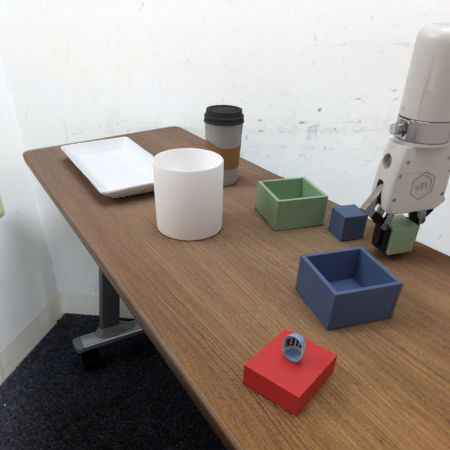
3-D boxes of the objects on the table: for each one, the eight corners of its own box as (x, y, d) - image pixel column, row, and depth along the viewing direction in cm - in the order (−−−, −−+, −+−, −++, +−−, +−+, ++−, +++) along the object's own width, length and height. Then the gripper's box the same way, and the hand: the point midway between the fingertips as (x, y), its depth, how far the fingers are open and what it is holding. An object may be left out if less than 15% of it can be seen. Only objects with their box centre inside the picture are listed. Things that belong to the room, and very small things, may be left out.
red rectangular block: (282, 345, 52) (289, 304, 48) (332, 372, 48) (343, 330, 45) (242, 383, 47) (246, 340, 43) (295, 416, 43) (304, 372, 40)
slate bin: (353, 278, 64) (361, 246, 61) (391, 317, 57) (403, 283, 54) (295, 288, 62) (300, 254, 58) (327, 330, 54) (335, 295, 51)
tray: (102, 208, 81) (100, 191, 79) (61, 159, 103) (58, 144, 101) (182, 192, 89) (181, 176, 86) (128, 149, 110) (126, 135, 108)
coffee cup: (248, 183, 93) (253, 111, 85) (217, 191, 90) (218, 115, 81) (227, 172, 99) (229, 102, 90) (196, 178, 95) (195, 106, 86)
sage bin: (300, 203, 86) (304, 176, 82) (323, 224, 78) (328, 196, 75) (255, 208, 83) (257, 180, 80) (274, 231, 76) (277, 201, 73)
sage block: (395, 238, 72) (401, 213, 69) (411, 251, 69) (419, 225, 66) (372, 242, 71) (377, 217, 68) (387, 255, 68) (394, 229, 65)
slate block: (349, 226, 78) (354, 203, 75) (362, 238, 75) (368, 214, 72) (327, 229, 77) (332, 206, 74) (340, 241, 74) (345, 217, 71)
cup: (228, 238, 73) (230, 169, 66) (160, 243, 71) (155, 173, 64) (215, 209, 82) (216, 146, 75) (154, 213, 80) (149, 149, 73)
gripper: (386, 143, 54) (358, 265, 65) (493, 132, 58) (450, 248, 69) (355, 127, 60) (334, 242, 71) (454, 118, 64) (420, 228, 75)
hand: (392, 244), depth 70 cm, fingers closed on sage block, 4 cm apart
